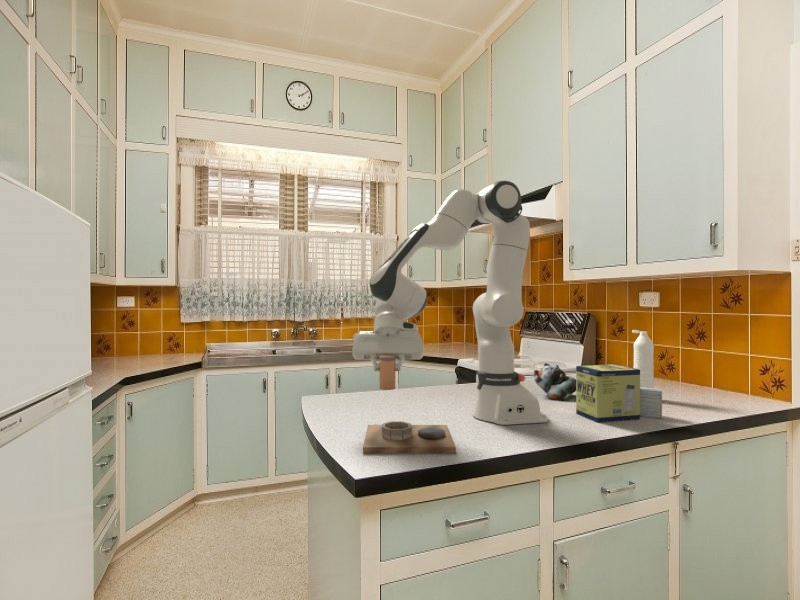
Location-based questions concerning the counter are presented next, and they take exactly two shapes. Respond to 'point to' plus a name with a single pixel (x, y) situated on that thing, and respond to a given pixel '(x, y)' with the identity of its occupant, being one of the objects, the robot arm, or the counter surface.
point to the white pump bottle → (644, 358)
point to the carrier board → (408, 438)
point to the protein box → (608, 392)
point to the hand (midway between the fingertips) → (387, 370)
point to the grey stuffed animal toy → (555, 382)
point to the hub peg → (387, 372)
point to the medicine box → (650, 402)
